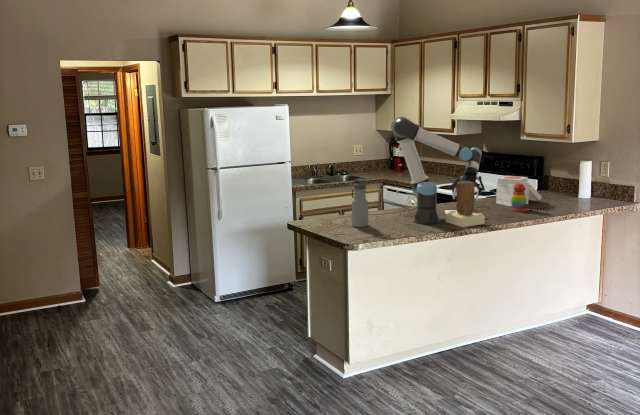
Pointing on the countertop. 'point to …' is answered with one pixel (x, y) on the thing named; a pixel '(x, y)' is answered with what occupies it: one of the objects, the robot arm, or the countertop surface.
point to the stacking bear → (519, 198)
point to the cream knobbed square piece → (464, 219)
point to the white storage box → (507, 189)
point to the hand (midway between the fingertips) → (464, 198)
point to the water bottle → (359, 204)
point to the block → (465, 197)
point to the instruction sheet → (450, 211)
